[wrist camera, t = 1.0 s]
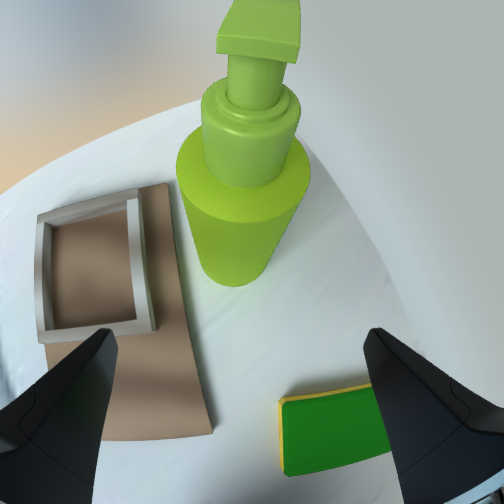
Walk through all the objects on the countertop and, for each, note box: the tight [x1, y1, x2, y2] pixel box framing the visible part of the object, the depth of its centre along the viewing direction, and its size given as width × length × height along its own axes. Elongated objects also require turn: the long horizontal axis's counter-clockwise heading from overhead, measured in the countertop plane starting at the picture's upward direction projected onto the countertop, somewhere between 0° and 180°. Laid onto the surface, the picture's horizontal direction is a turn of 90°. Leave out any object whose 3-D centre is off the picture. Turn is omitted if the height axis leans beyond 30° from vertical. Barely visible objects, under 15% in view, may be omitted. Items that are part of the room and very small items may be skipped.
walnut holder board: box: [34, 183, 213, 441], centre depth 20 cm, size 22×14×3 cm, turn 12°
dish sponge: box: [278, 383, 391, 477], centre depth 19 cm, size 7×14×2 cm, turn 93°
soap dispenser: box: [176, 0, 310, 287], centre depth 15 cm, size 6×7×20 cm
